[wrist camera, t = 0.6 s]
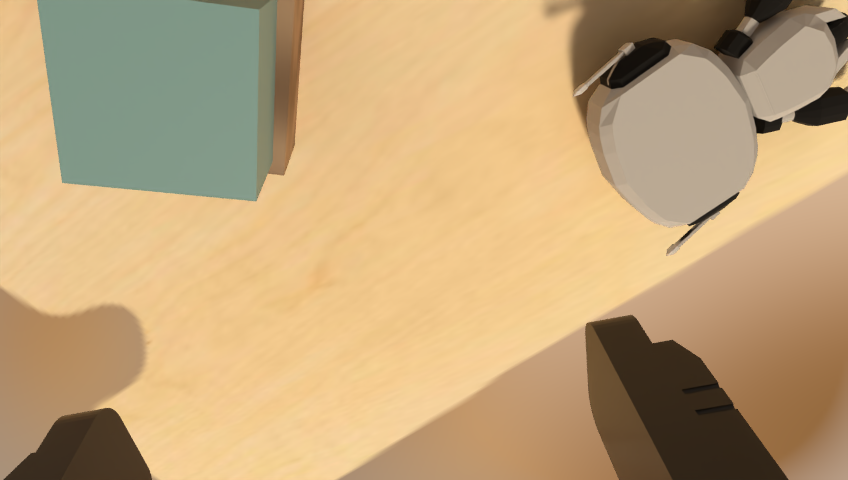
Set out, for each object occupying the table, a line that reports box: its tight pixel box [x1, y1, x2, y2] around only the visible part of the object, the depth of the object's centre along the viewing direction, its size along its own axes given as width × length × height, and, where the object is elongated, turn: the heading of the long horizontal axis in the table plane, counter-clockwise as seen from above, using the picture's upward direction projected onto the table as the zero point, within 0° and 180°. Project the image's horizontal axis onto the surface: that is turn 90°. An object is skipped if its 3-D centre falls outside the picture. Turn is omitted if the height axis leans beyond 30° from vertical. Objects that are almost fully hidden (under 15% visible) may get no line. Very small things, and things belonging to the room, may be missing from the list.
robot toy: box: [573, 0, 848, 256], centre depth 35 cm, size 12×4×15 cm
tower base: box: [268, 0, 304, 175], centre depth 31 cm, size 9×9×5 cm
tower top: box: [37, 0, 277, 201], centre depth 27 cm, size 8×8×5 cm
